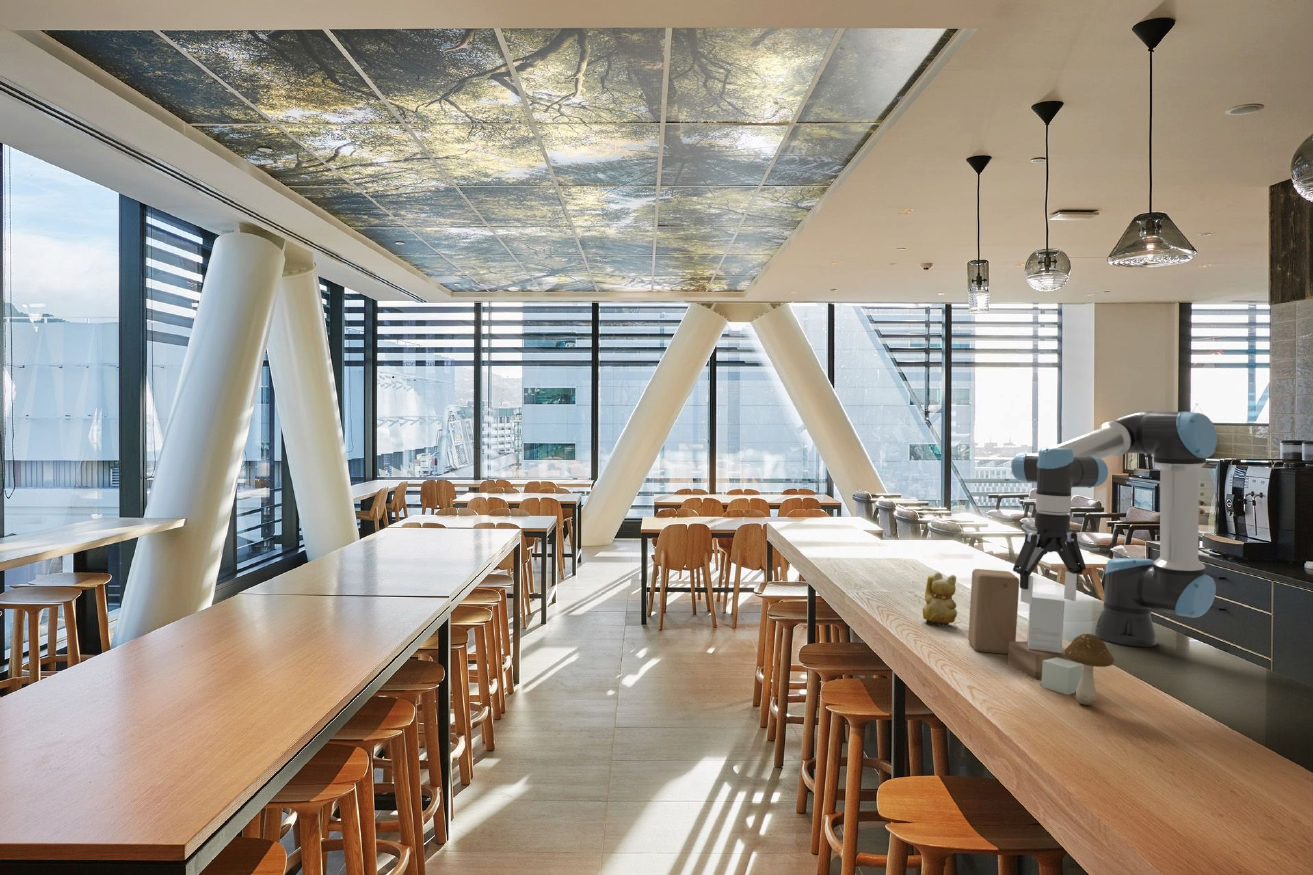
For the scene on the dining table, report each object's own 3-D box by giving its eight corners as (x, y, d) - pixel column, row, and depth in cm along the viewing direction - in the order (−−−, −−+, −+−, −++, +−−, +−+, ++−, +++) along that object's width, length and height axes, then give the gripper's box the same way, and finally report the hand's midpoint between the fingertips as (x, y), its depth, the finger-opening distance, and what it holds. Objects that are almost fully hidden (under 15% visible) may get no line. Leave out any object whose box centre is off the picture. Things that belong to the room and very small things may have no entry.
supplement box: (1060, 646, 195) (1063, 595, 195) (1061, 654, 188) (1065, 600, 188) (1026, 642, 198) (1029, 590, 198) (1026, 649, 191) (1030, 596, 191)
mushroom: (1066, 711, 166) (1071, 638, 165) (1056, 693, 177) (1061, 625, 176) (1117, 718, 163) (1121, 644, 163) (1103, 700, 174) (1108, 631, 174)
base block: (1049, 665, 199) (1050, 641, 199) (1078, 680, 189) (1080, 655, 188) (1007, 665, 198) (1009, 641, 198) (1034, 680, 187) (1036, 654, 187)
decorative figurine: (958, 624, 236) (961, 573, 236) (952, 630, 229) (955, 577, 229) (924, 619, 241) (927, 569, 241) (917, 624, 234) (920, 572, 234)
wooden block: (1015, 655, 206) (1020, 577, 205) (974, 651, 208) (978, 574, 207) (1006, 645, 215) (1011, 571, 215) (967, 641, 217) (971, 567, 217)
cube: (1055, 683, 185) (1056, 657, 185) (1081, 691, 180) (1083, 664, 180) (1041, 687, 181) (1042, 660, 181) (1067, 695, 176) (1069, 668, 176)
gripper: (1078, 510, 200) (1074, 594, 201) (999, 511, 191) (995, 600, 192) (1105, 513, 193) (1100, 601, 194) (1024, 515, 184) (1019, 607, 185)
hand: (1048, 601), depth 193 cm, fingers open, 13 cm apart
